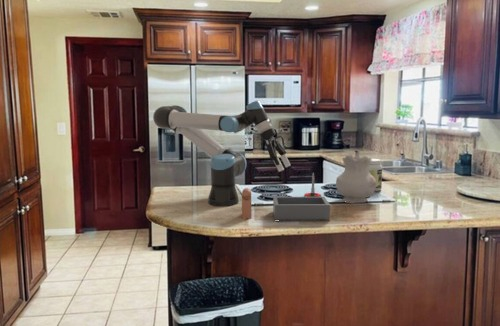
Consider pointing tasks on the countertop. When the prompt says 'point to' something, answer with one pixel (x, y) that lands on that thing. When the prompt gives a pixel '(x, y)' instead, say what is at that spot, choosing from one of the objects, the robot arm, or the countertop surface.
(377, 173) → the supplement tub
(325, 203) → the open box
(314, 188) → the tow hook
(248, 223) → the countertop surface
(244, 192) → the wooden peg
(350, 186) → the ceramic pitcher
